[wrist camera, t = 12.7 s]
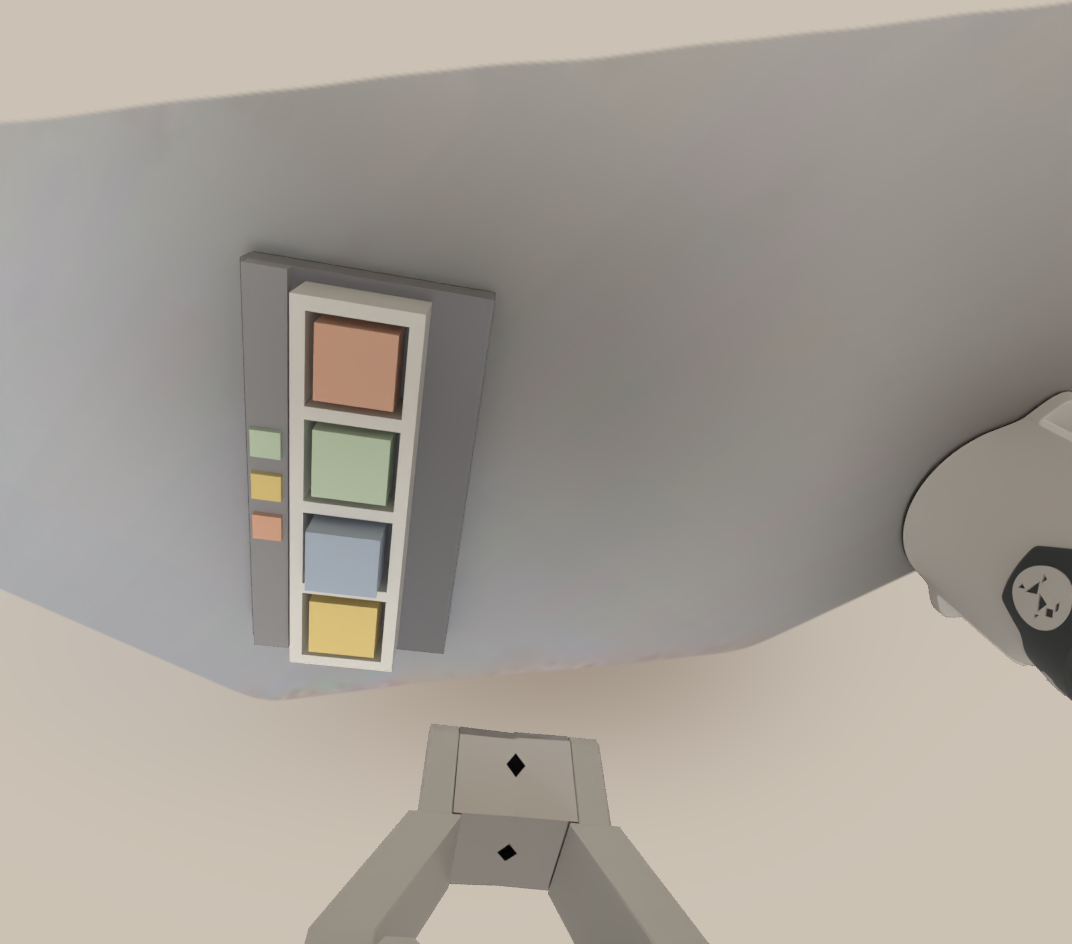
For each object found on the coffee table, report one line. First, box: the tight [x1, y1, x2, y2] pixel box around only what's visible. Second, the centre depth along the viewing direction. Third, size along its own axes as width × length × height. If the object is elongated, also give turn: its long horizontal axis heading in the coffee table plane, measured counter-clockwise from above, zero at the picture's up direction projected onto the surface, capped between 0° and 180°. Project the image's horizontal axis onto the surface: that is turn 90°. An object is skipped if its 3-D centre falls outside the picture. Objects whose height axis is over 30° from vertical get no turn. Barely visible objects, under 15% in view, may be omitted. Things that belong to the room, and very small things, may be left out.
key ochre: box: [308, 594, 382, 658], centre depth 44 cm, size 4×4×2 cm
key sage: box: [311, 421, 397, 506], centre depth 38 cm, size 4×4×2 cm
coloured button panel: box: [240, 251, 495, 672], centre depth 41 cm, size 14×27×5 cm, turn 170°
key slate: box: [305, 514, 387, 598], centre depth 40 cm, size 4×4×2 cm
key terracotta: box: [313, 314, 405, 412], centre depth 35 cm, size 4×4×2 cm
